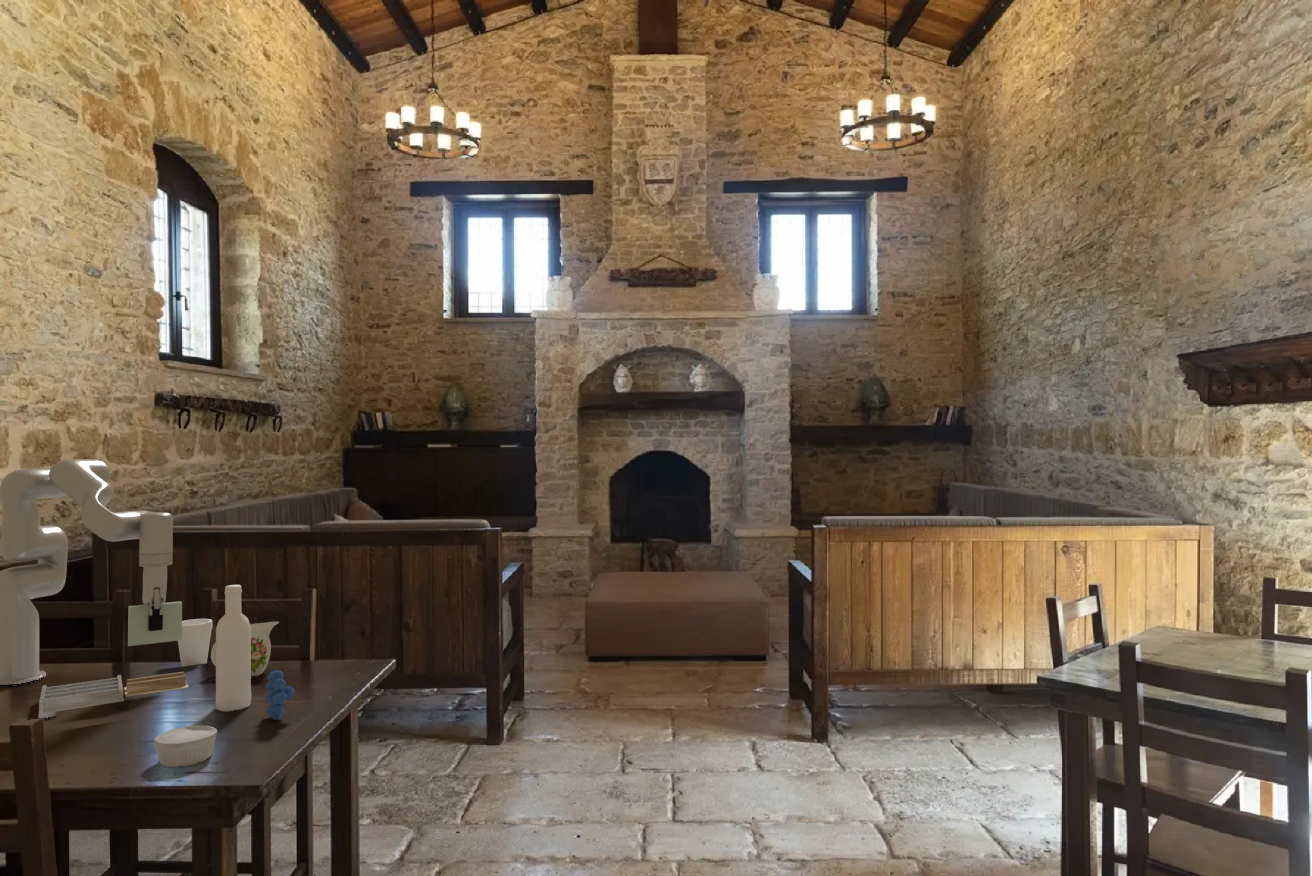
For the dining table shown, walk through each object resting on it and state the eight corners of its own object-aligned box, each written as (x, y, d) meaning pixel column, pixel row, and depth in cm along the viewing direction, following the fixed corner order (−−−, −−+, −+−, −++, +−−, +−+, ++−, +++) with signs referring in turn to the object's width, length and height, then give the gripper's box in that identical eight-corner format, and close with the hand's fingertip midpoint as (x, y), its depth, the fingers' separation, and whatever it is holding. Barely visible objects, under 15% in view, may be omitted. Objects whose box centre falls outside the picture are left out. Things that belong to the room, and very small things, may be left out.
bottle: (236, 712, 200) (235, 588, 201) (207, 710, 202) (207, 588, 202) (258, 702, 208) (258, 583, 209) (231, 700, 210) (230, 582, 210)
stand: (124, 692, 217) (124, 677, 217) (185, 684, 225) (185, 669, 225) (125, 702, 209) (125, 686, 209) (188, 692, 217) (188, 677, 217)
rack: (42, 701, 211) (42, 685, 211) (121, 689, 220) (121, 674, 221) (38, 720, 196) (38, 703, 196) (123, 706, 206) (123, 690, 206)
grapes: (301, 722, 193) (301, 671, 193) (269, 728, 189) (269, 675, 189) (290, 710, 202) (290, 660, 202) (260, 715, 198) (259, 665, 198)
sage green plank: (128, 644, 215) (128, 606, 215) (181, 638, 222) (181, 601, 222) (128, 646, 213) (128, 607, 213) (181, 639, 220) (182, 602, 220)
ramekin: (227, 749, 176) (227, 724, 176) (199, 769, 165) (199, 743, 165) (173, 750, 176) (173, 725, 176) (142, 770, 165) (142, 744, 165)
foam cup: (184, 672, 238) (184, 626, 238) (170, 667, 243) (170, 622, 243) (218, 665, 245) (218, 621, 245) (203, 660, 251) (203, 617, 251)
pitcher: (205, 677, 231) (204, 628, 232) (271, 665, 244) (271, 618, 244) (217, 685, 224) (217, 634, 224) (285, 672, 236) (285, 624, 236)
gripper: (137, 556, 222) (136, 625, 222) (140, 564, 209) (139, 637, 209) (170, 554, 226) (169, 622, 226) (174, 562, 213) (174, 633, 213)
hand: (155, 628), depth 218 cm, fingers closed on sage green plank, 2 cm apart
